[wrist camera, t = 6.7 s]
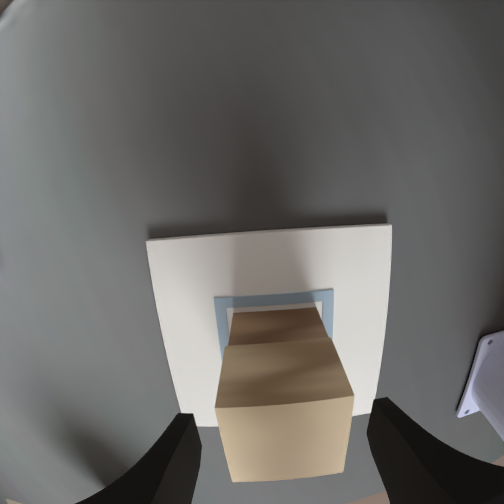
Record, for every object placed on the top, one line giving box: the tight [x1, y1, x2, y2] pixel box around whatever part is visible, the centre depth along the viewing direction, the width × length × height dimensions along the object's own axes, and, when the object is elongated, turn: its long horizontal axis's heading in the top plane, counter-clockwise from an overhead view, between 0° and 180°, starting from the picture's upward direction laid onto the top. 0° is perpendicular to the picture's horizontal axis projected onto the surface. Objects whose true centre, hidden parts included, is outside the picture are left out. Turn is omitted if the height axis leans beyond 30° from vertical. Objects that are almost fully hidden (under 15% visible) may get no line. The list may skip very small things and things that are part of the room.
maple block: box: [215, 337, 355, 482], centre depth 12 cm, size 4×4×4 cm
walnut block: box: [228, 307, 328, 346], centre depth 16 cm, size 4×4×4 cm
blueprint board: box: [146, 223, 392, 426], centre depth 18 cm, size 13×13×1 cm
